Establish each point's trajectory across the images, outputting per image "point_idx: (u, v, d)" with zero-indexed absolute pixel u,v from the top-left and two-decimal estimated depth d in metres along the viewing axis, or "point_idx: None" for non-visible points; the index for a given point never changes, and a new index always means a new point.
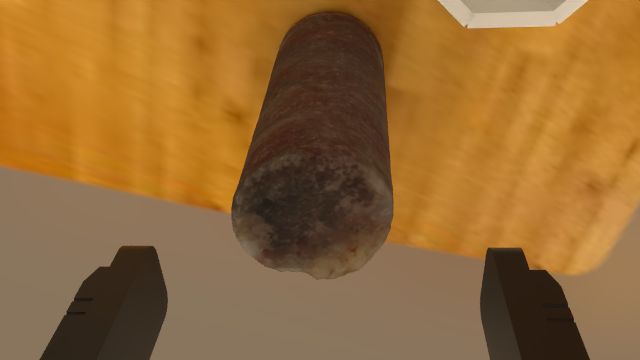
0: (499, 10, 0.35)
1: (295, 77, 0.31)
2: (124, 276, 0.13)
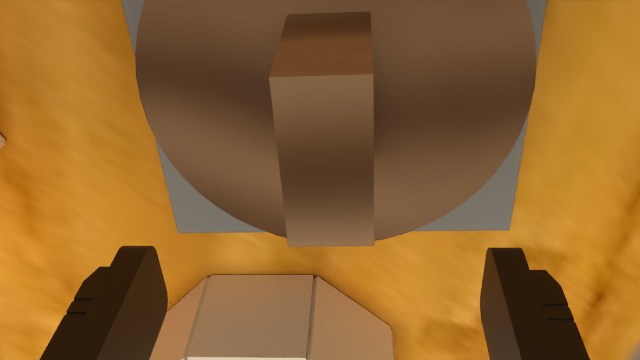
0: None
1: None
2: (124, 276, 0.13)
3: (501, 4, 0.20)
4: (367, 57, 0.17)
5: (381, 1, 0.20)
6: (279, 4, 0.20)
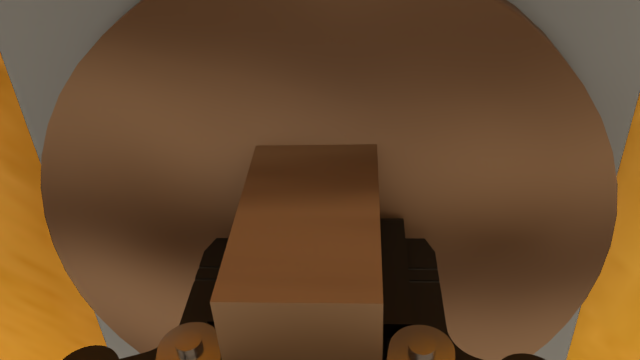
0: None
1: None
2: None
3: (571, 139, 0.13)
4: (373, 258, 0.10)
5: (393, 131, 0.13)
6: (243, 131, 0.14)
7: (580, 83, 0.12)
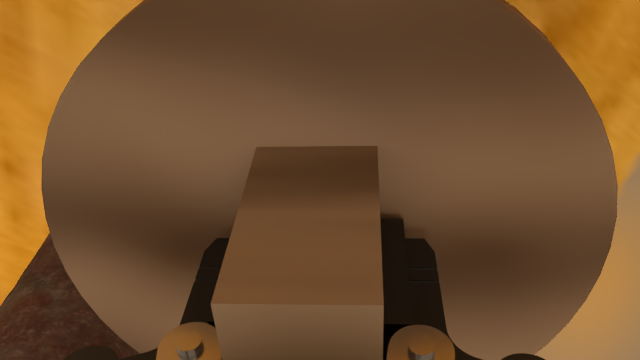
0: None
1: (39, 268, 0.25)
2: None
3: (571, 140, 0.13)
4: (373, 259, 0.10)
5: (394, 133, 0.13)
6: (243, 133, 0.14)
7: (580, 85, 0.12)
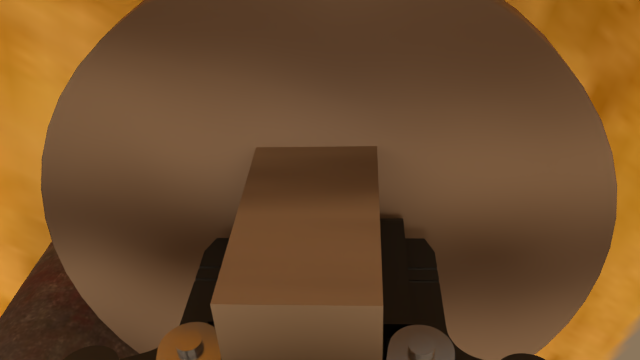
0: None
1: None
2: None
3: (571, 141, 0.13)
4: (373, 260, 0.10)
5: (393, 133, 0.13)
6: (243, 133, 0.14)
7: (580, 85, 0.12)
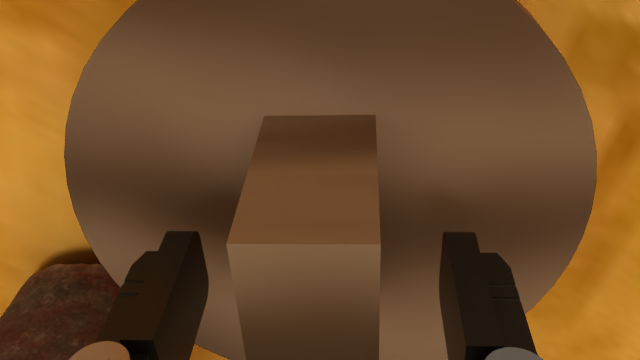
0: None
1: None
2: (173, 259, 0.13)
3: (553, 109, 0.14)
4: (372, 207, 0.12)
5: (391, 102, 0.15)
6: (252, 103, 0.15)
7: (561, 57, 0.14)
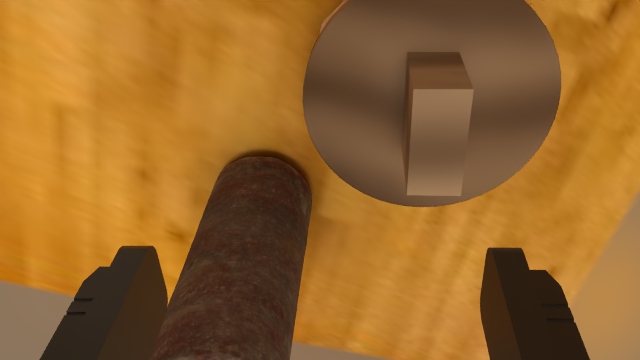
0: None
1: (210, 247, 0.34)
2: (124, 276, 0.13)
3: (541, 50, 0.32)
4: (467, 80, 0.29)
5: (466, 46, 0.32)
6: (402, 45, 0.32)
7: (544, 25, 0.31)
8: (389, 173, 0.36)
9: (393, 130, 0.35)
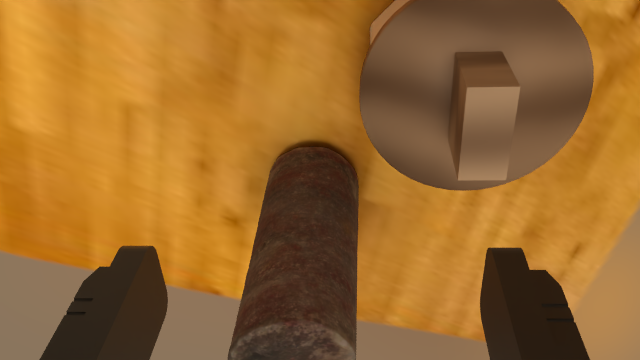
0: None
1: (280, 229, 0.38)
2: (124, 276, 0.13)
3: (576, 48, 0.35)
4: (513, 78, 0.33)
5: (509, 46, 0.36)
6: (451, 46, 0.36)
7: (579, 26, 0.35)
8: (435, 160, 0.40)
9: (440, 122, 0.39)
